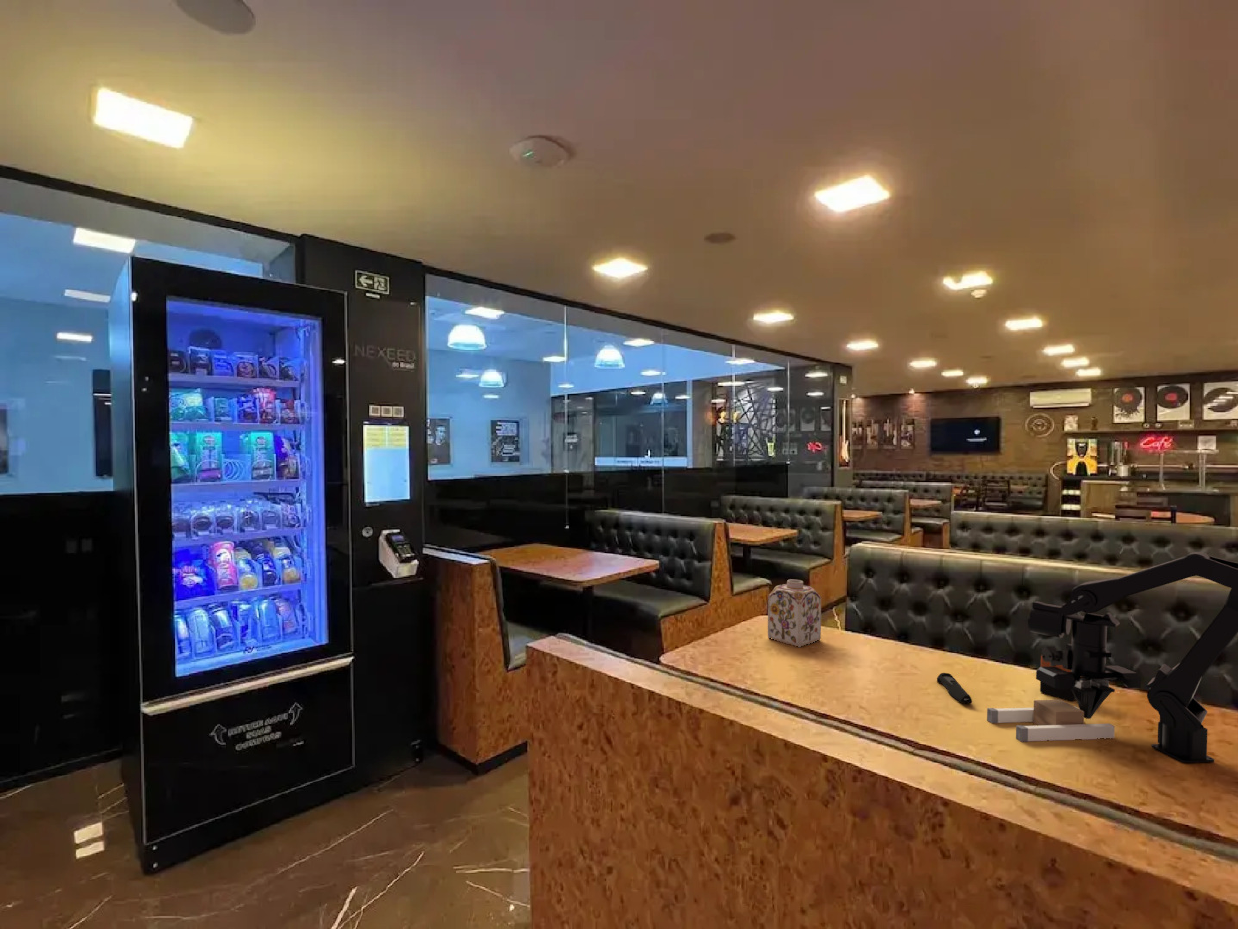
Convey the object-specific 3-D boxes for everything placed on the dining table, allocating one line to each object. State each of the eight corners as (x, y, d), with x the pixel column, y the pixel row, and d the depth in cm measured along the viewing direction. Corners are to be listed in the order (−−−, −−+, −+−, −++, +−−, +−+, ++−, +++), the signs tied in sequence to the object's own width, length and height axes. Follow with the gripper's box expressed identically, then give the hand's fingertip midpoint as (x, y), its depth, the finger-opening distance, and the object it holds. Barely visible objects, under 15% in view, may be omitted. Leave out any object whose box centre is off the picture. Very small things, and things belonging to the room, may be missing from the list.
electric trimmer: (957, 708, 139) (958, 694, 139) (935, 682, 154) (935, 669, 154) (975, 709, 138) (976, 695, 138) (951, 683, 153) (952, 670, 153)
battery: (1073, 702, 142) (1074, 659, 141) (1039, 693, 147) (1040, 651, 147) (1079, 697, 144) (1080, 655, 144) (1046, 688, 150) (1047, 647, 149)
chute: (1114, 738, 123) (1115, 725, 123) (1021, 741, 121) (1021, 728, 121) (1074, 717, 133) (1074, 705, 133) (986, 720, 131) (987, 708, 131)
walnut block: (1083, 736, 125) (1084, 711, 124) (1055, 736, 124) (1056, 712, 124) (1060, 723, 131) (1060, 699, 130) (1033, 723, 130) (1033, 700, 130)
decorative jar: (789, 632, 195) (789, 575, 195) (821, 640, 187) (823, 581, 186) (766, 639, 188) (767, 580, 187) (799, 648, 179) (800, 586, 179)
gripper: (1097, 631, 136) (1095, 701, 137) (1018, 632, 135) (1016, 703, 135) (1144, 647, 125) (1141, 723, 126) (1058, 648, 124) (1056, 725, 124)
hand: (1086, 718), depth 128 cm, fingers closed
